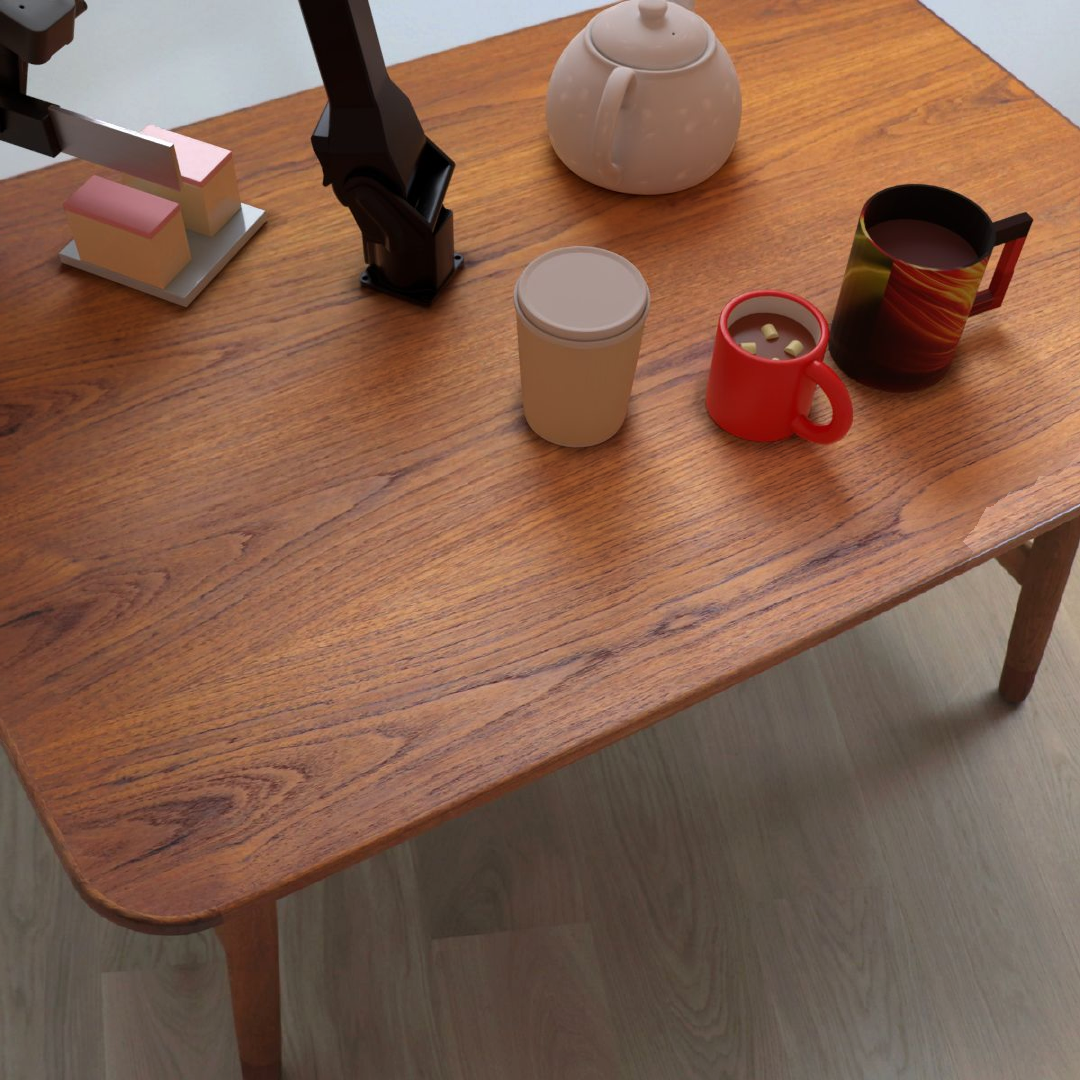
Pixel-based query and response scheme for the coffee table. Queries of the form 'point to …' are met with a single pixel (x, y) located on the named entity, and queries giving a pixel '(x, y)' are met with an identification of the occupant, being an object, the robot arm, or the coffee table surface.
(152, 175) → the knife
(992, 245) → the mug
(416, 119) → the robot arm
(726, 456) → the coffee table surface
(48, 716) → the coffee table surface
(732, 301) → the mug
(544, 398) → the coffee cup
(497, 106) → the coffee table surface
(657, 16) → the teapot
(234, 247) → the cake plate
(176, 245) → the cake slice
